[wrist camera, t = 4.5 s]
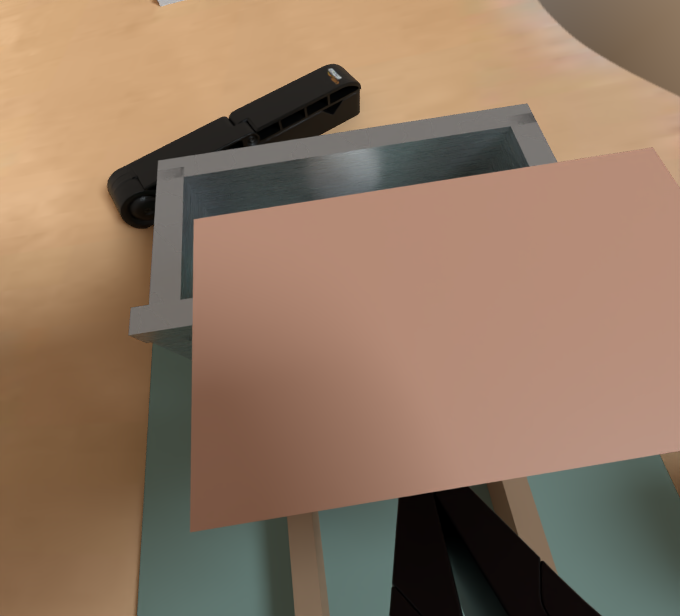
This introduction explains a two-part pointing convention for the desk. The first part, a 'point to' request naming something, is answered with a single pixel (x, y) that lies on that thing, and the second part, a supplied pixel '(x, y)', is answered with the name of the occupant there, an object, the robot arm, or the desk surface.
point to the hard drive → (167, 2)
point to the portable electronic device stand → (243, 133)
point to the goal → (313, 188)
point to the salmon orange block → (434, 337)
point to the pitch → (391, 534)
